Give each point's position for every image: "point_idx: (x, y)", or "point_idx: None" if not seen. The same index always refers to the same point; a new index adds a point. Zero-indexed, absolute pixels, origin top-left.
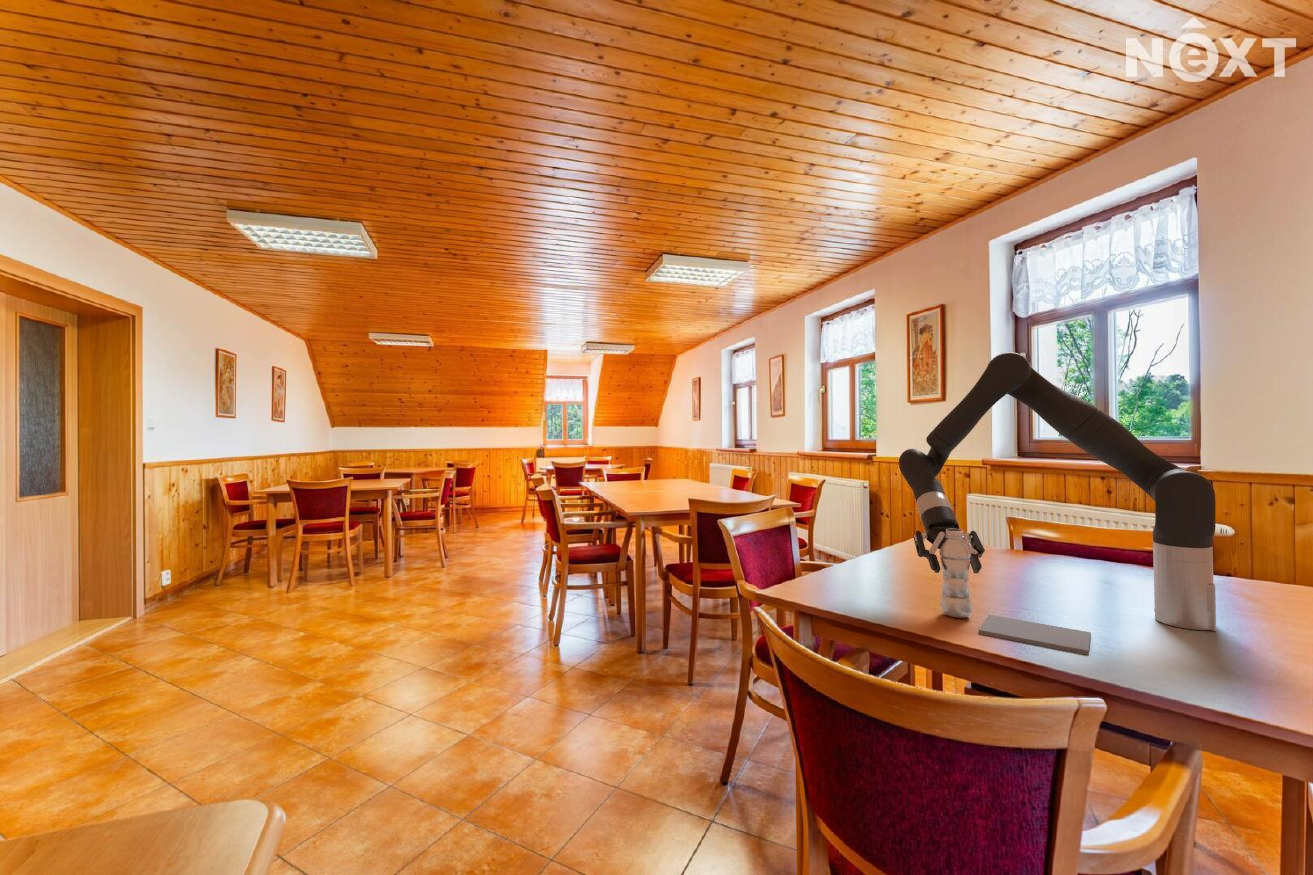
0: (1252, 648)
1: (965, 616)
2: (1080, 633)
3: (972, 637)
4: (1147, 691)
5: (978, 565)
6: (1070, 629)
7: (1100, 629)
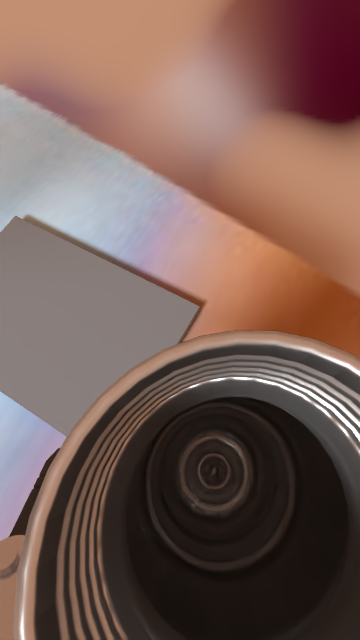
0: None
1: (196, 425)
2: None
3: (226, 281)
4: (39, 109)
5: None
6: None
7: None
